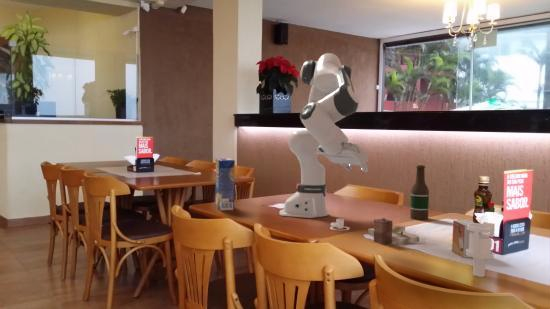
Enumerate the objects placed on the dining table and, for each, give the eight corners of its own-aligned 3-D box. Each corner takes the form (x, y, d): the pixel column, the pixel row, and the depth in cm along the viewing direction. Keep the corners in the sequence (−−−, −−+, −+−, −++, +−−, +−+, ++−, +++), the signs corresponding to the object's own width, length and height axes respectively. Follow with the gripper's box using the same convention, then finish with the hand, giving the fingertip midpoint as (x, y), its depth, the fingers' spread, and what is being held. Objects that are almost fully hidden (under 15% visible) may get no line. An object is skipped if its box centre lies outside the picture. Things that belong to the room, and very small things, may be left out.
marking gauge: (381, 244, 165) (382, 219, 165) (373, 241, 169) (374, 217, 169) (407, 241, 170) (408, 217, 170) (399, 238, 174) (399, 215, 174)
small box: (451, 251, 157) (452, 219, 157) (467, 251, 158) (468, 219, 157) (463, 258, 149) (464, 225, 149) (480, 257, 150) (481, 224, 149)
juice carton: (234, 209, 230) (234, 160, 229) (219, 210, 228) (219, 160, 227) (229, 205, 242) (230, 158, 240) (215, 206, 240) (215, 158, 238)
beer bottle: (429, 220, 209) (430, 166, 207) (410, 219, 210) (412, 165, 209) (427, 217, 216) (428, 165, 215) (409, 216, 218) (411, 164, 217)
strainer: (487, 280, 127) (489, 225, 126) (461, 275, 132) (463, 221, 131) (496, 274, 132) (498, 221, 131) (470, 269, 137) (472, 218, 136)
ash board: (399, 244, 165) (399, 238, 165) (368, 233, 181) (368, 228, 181) (419, 242, 169) (419, 236, 169) (386, 231, 185) (387, 226, 185)
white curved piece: (328, 226, 196) (329, 216, 196) (348, 226, 196) (348, 217, 195) (330, 231, 187) (330, 221, 187) (350, 231, 187) (351, 221, 187)
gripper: (358, 136, 155) (382, 165, 160) (325, 136, 174) (347, 162, 178) (346, 150, 153) (371, 179, 158) (314, 148, 172) (337, 174, 176)
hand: (358, 170), depth 168 cm, fingers open, 8 cm apart
